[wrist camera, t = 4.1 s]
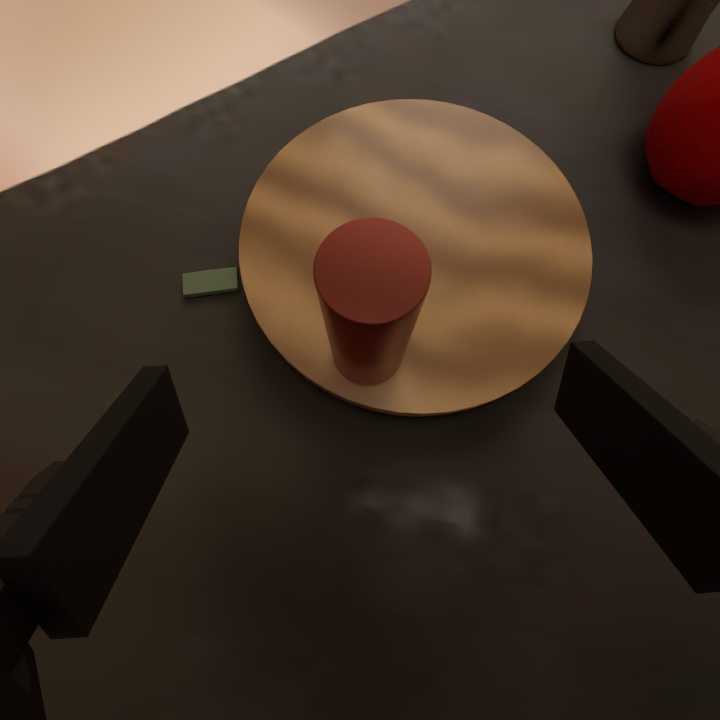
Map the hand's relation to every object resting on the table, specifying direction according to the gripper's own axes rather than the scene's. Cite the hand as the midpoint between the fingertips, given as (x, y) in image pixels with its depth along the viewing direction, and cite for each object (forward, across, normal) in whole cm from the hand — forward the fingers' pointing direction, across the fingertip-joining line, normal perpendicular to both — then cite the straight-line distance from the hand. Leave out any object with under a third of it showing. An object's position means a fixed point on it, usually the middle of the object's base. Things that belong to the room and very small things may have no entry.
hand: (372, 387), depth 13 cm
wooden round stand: (+15, -4, -1) cm, 15 cm away
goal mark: (+15, +10, +1) cm, 18 cm away
